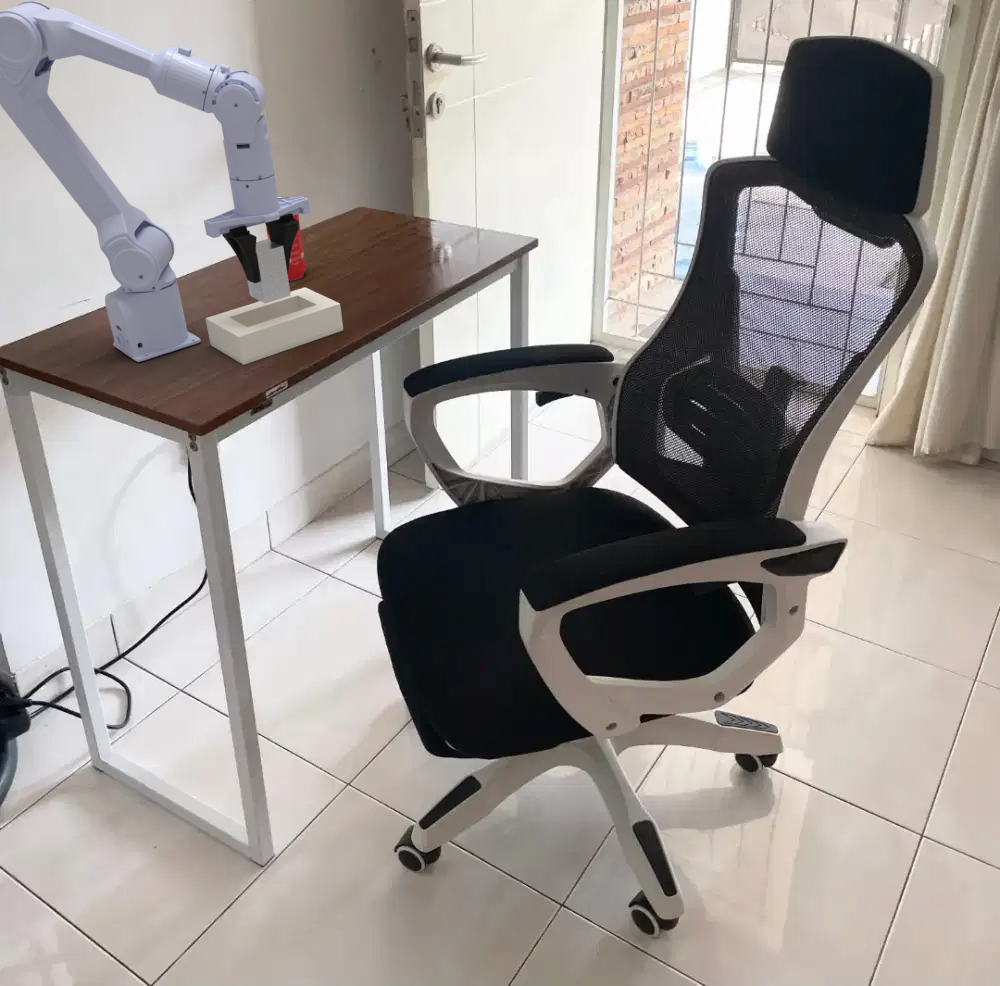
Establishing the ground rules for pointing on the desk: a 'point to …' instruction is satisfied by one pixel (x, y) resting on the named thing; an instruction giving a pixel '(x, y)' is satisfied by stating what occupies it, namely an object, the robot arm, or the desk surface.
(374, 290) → the desk surface
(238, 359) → the cream rectangular tray
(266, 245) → the grey rectangular block
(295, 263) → the beverage can
